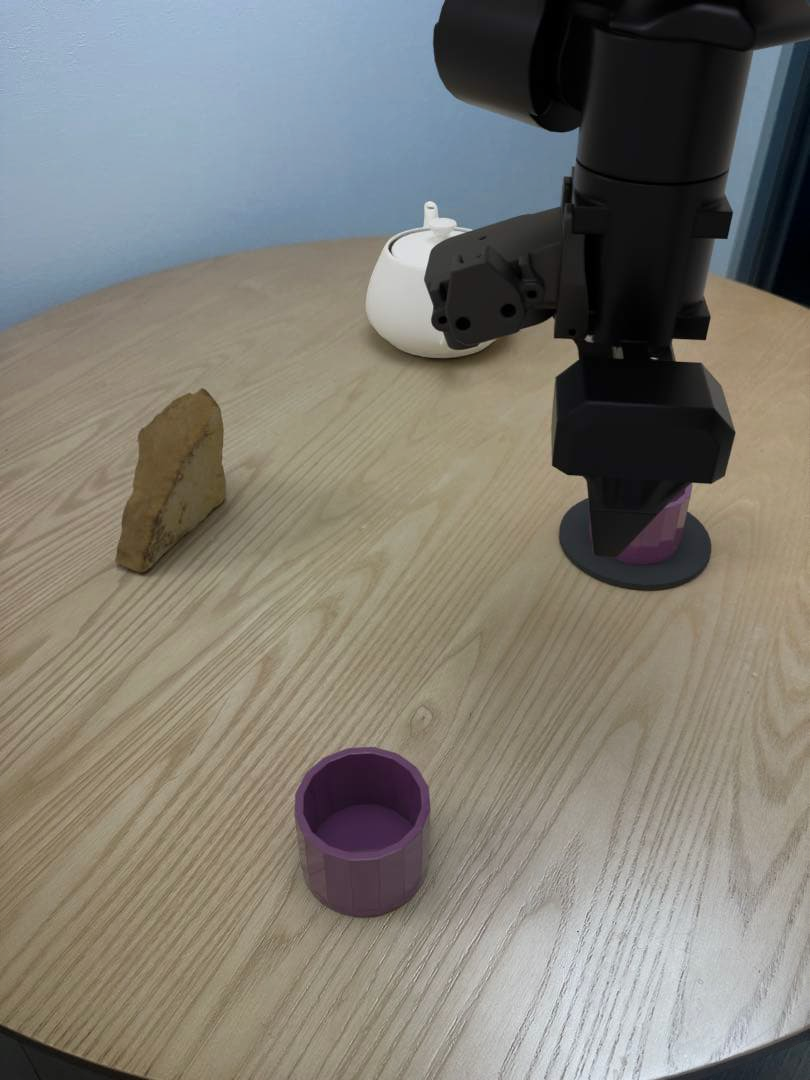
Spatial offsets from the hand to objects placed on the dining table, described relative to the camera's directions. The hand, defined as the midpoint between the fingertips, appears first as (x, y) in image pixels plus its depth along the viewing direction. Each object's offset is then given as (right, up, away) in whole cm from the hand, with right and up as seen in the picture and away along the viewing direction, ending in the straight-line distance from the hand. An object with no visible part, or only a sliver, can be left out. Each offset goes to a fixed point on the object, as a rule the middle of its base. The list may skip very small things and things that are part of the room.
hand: (600, 495), depth 45 cm
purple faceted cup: (-11, -17, -1) cm, 21 cm away
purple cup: (+6, -2, +18) cm, 19 cm away
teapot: (-6, +17, +43) cm, 47 cm away
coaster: (+6, -2, +18) cm, 19 cm away
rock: (-26, -1, +20) cm, 32 cm away
